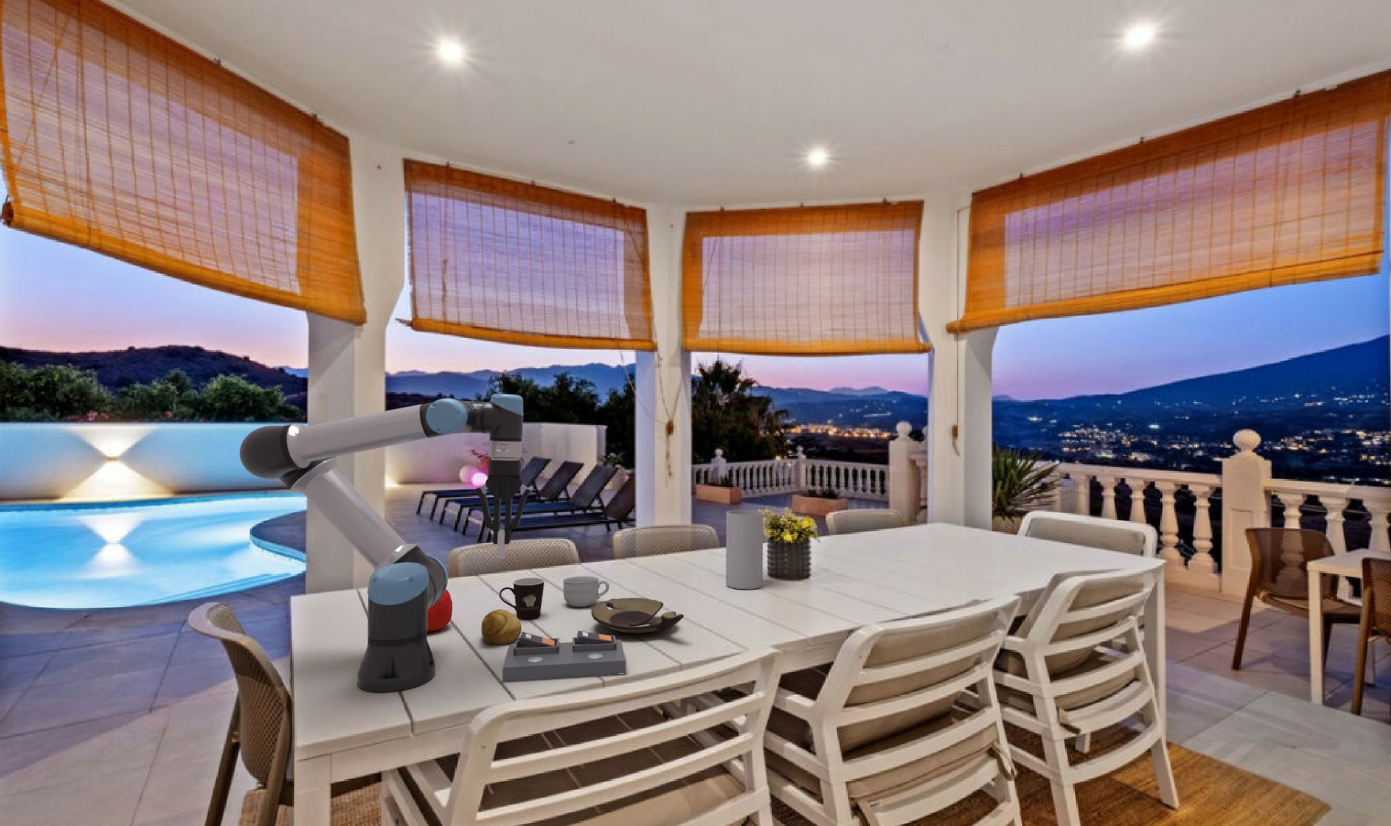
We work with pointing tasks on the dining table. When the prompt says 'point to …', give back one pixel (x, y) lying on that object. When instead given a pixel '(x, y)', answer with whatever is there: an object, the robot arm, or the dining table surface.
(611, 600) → the oil lamp
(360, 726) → the dining table surface
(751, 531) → the cylinder vase
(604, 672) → the rocker switch box
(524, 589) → the coffee mug
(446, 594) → the tomato
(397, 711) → the dining table surface
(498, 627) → the bread roll
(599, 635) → the right rocker
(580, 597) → the teacup
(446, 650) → the dining table surface
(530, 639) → the left rocker
